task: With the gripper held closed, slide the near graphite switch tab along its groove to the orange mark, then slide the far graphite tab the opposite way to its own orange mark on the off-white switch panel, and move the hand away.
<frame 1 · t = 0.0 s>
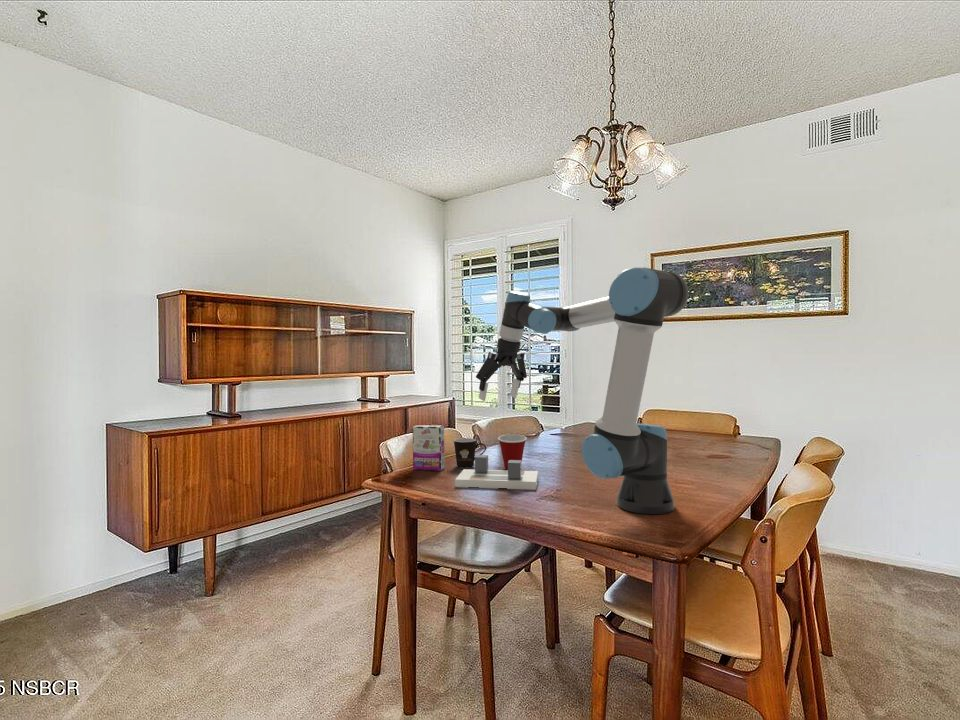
hand: (497, 398, 170), 28 cm above the table, tool tilted 20°, fingers open, 13 cm apart
switch tab far: (481, 463, 170), point 6 cm above the table, slide at 0.0 cm
coffee mug: (468, 467, 190), on the table
candy bar box: (429, 469, 186), on the table
switch tab near: (514, 469, 161), point 6 cm above the table, slide at 0.0 cm
switch panel: (497, 482, 166), on the table
plastic cup: (512, 469, 185), on the table
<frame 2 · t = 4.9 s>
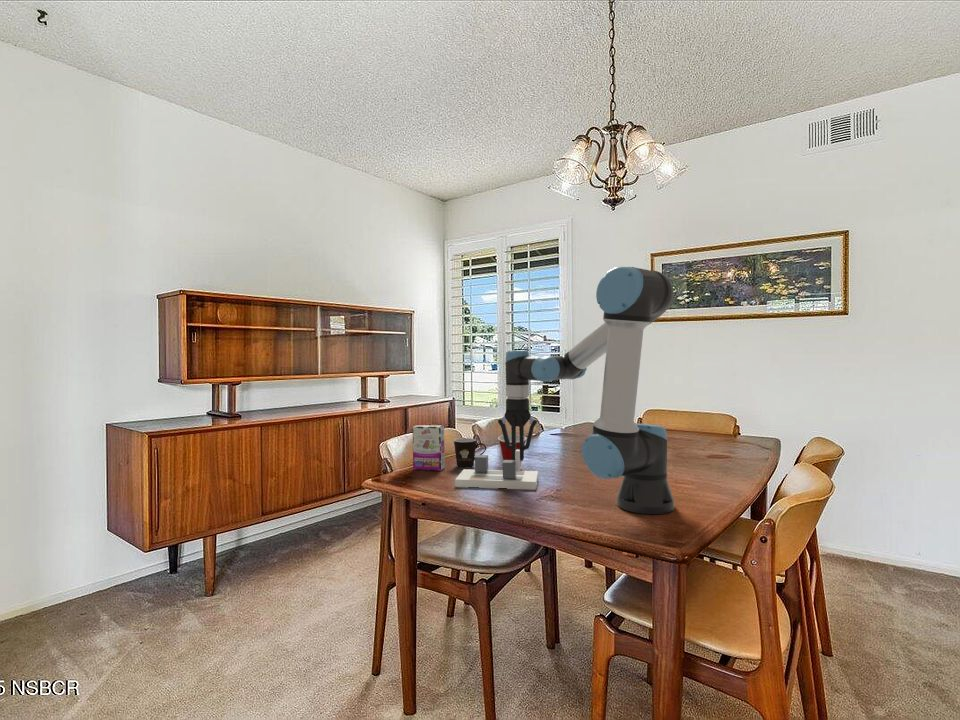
hand: (518, 470, 161), 5 cm above the table, tool pointing down, fingers closed
switch tab near: (509, 469, 162), point 6 cm above the table, slide at 1.7 cm, touching gripper
everything else where it was.
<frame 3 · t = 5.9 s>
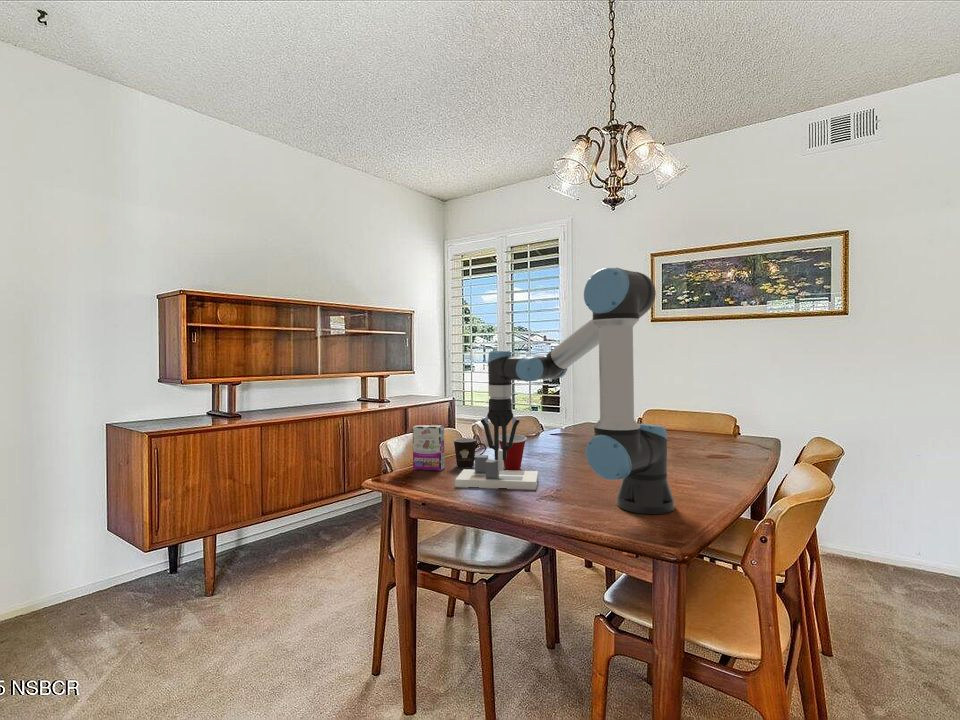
hand: (500, 469, 162), 5 cm above the table, tool pointing down, fingers closed
switch tab near: (492, 468, 162), point 5 cm above the table, slide at 7.3 cm, touching gripper
everything else where it was.
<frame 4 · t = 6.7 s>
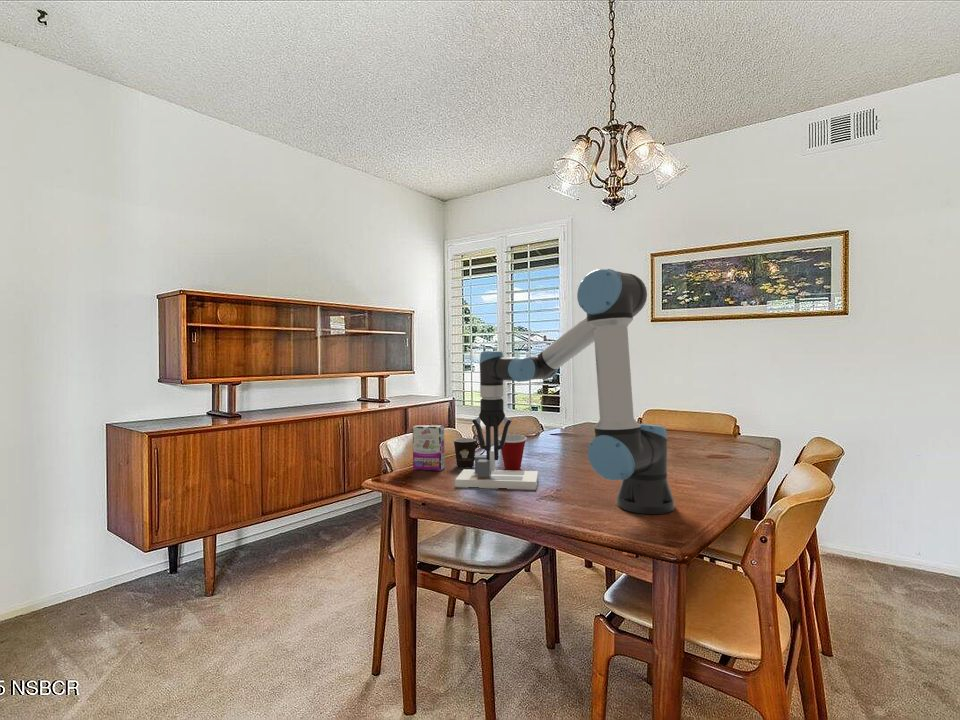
hand: (492, 470, 163), 5 cm above the table, tool pointing down, fingers closed
switch tab near: (484, 468, 163), point 6 cm above the table, slide at 10.0 cm, touching gripper
everything else where it was.
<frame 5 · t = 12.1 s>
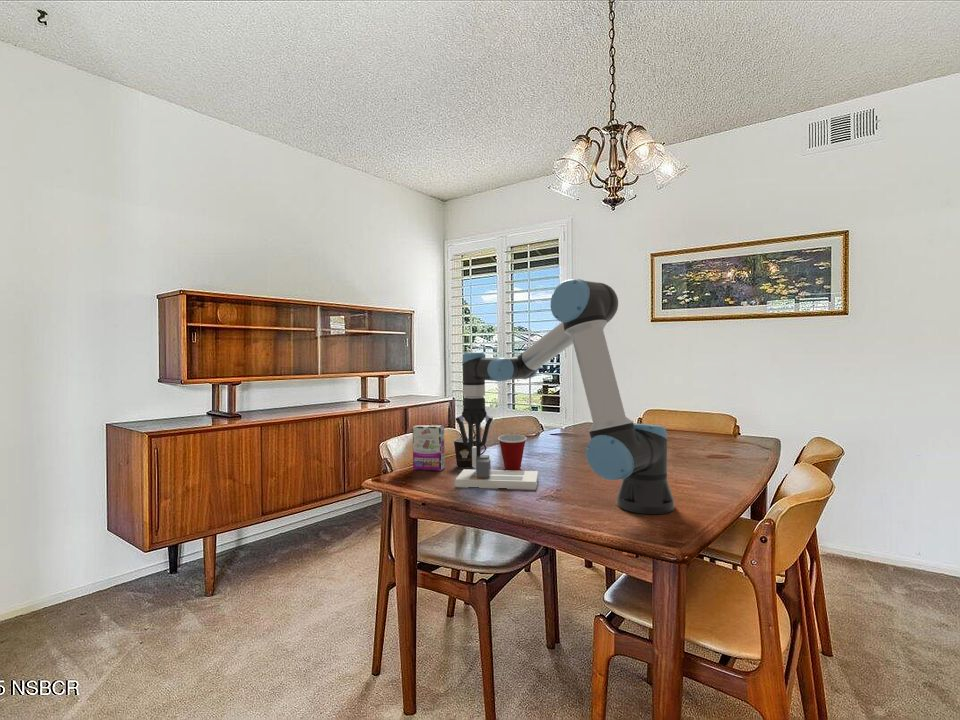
hand: (475, 465, 170), 5 cm above the table, tool pointing down, fingers closed
switch tab far: (482, 463, 170), point 6 cm above the table, slide at 0.5 cm, touching gripper
switch tab near: (483, 468, 163), point 5 cm above the table, slide at 10.2 cm
everything else where it was.
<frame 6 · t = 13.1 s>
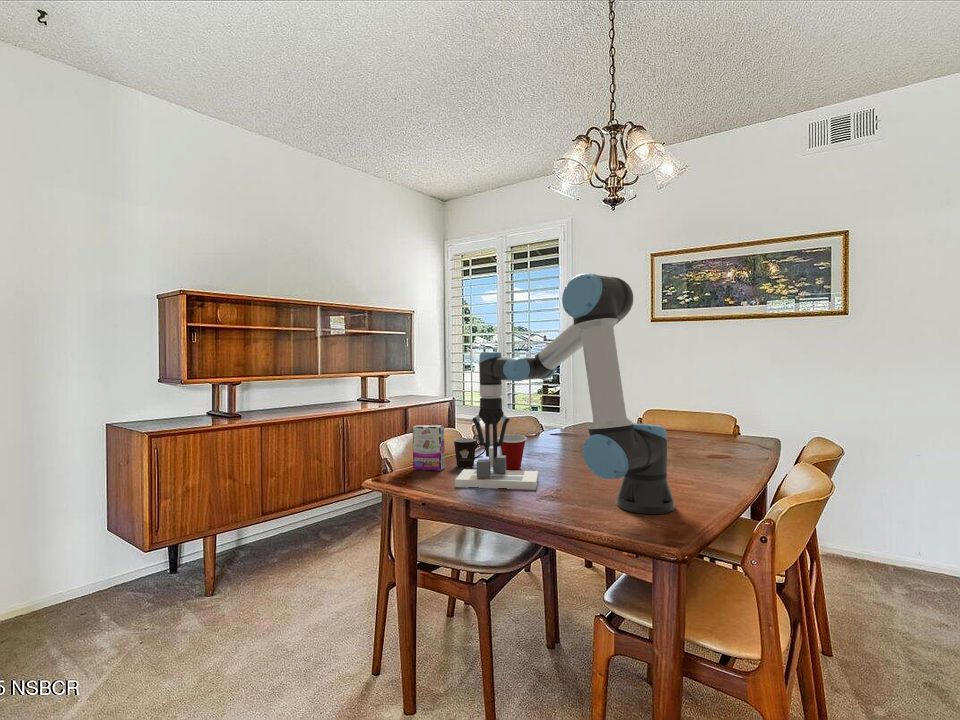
hand: (491, 466, 169), 5 cm above the table, tool pointing down, fingers closed
switch tab far: (499, 463, 169), point 6 cm above the table, slide at 6.3 cm, touching gripper
everything else where it was.
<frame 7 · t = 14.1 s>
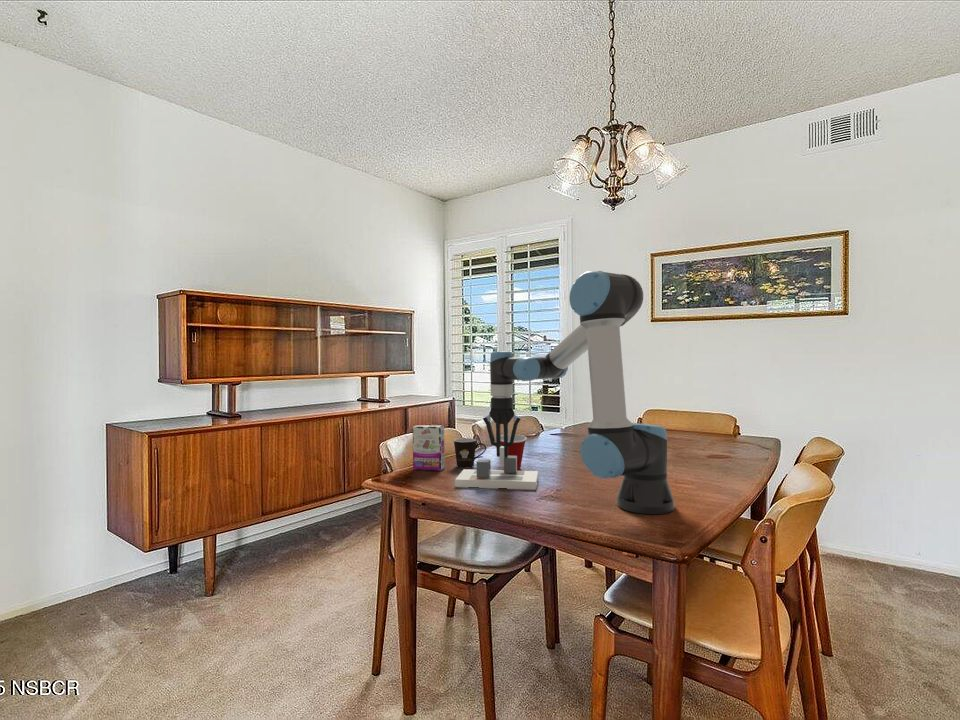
hand: (502, 466, 169), 5 cm above the table, tool pointing down, fingers closed
switch tab far: (510, 464, 169), point 6 cm above the table, slide at 10.0 cm, touching gripper
everything else where it was.
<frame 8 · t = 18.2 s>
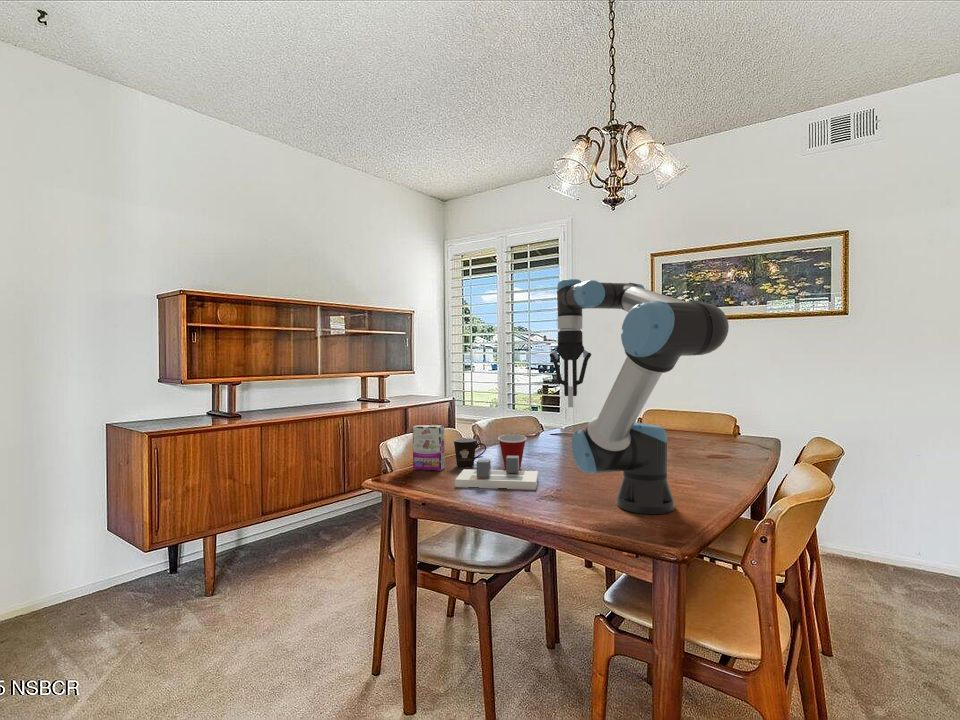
hand: (570, 406, 154), 26 cm above the table, tool pointing down, fingers closed
switch tab far: (512, 464, 168), point 6 cm above the table, slide at 10.6 cm
everything else where it was.
at the end: switch tab near slide at 10.2 cm; switch tab far slide at 10.6 cm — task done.
